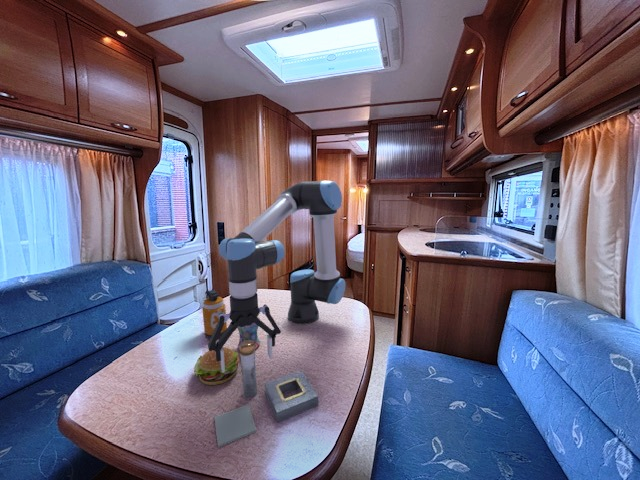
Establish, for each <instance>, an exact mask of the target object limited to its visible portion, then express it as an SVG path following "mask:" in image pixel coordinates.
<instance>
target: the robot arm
mask: <svg viewBox="0 0 640 480" xmlns="http://www.w3.org/2000/svg"><path fill="white" fill-rule="evenodd" d="M342 202H343V197H342V191H341V189H340V187H339V185H338V183H336V181H334V180H316V181H315V180H314V181H313V180H312V181H302V182H300V181H299V182H298V183H295V184H293V185H291V186H290V187H288V188H286V189H285V190H284V191H283V192H281V193H280V194H279V195H278V196H277V198H276V201H275V202H274V203H273V204H272V205H270V206H269V207H268V208H267V209H266V210H264V212H262V213H261V214H260V215H258V216H257V218H256V219H253V221H252V222H251V223H249V224H248V225H247V226H246V227H245V228H244V229H243V230H242V231H240V232H239V233H238V234H236V235H235V236H234V237H229V238H228V237H227V238H224V239H222V241H220V244H219V245H218V252H219V255H220V257H221V258H222V259H224V260H226V262H227V264H226V265H227V274H228V288H229V291H228V293H229V305H230V307H229V309H230V312H229V313H226V314H223V313H220V314H219V319H218V323H217V325H216V328H215V330H214V332H213V334H212V337H211V339H210V338H209V341H208V344H207V348H208V351H212V350H214V351H216V360H217V362H218V361H221V370H222V373H224V372H225V364H224V351H223V347H225V346H224V345H225V344H226V343H227V341H228V340H229V339H230V338H231V336H232V335H233V333H234V331H236V330H238V329H237V328H238V326H239V327H244V326H249V325H252V324H253V323H255V324H256V325H258V326H259V327H258V328H261V330H263V331H264V332H265V333H266V345H267V347H266V349H267V356H268V358H269V360H271V359H273V347H275V346H276V337H277V335H280V334H281V333H282V331H281V329H280V327H279V326H278V325H277V322H276V321H275V320H274V317H273V316H272V314H271V310H270V307H269V306H268V305H267V303H266V304H263V305H262V306H260V307H259V302H258V301H259V300H258V299H259V298H258V280H257V276H258V275H257V272H258V271H257V270H259V269H262V268H265V267H269V266H272V265H273V266H274V265H276V264H278V263H280V262H281V261H282V260H284V257H285V253H286V251H285V247H284V245H283V244H282V242H281V241H279V240H277V239H273V240H271V239H269V240H266V241H264V240H265V239H266V238H267V237H268V236H269V235H270V234H271V233H272V232H273V231H274V230H275V229H276V228H278V227H279V226H280V225H281V224H282V223H283V221H284V220H286V219H287V218H288V217H289V216H290V215H294V214H295V213H296V212H298V211H301V210H309V211H308V212H309V213H308V215H309V216H310V217H311V218H312V219H313V232H314V244H315V245H314V246H315V258H316V271H315V270H313V269H308V268H307V269H301V270H297V271H294V272H292V273H291V274H290V279H289V280H290V281H289V283H290V286H289V287H290V305H289V308H288V312H287V319H288V321H289V322H291V323H293V324H297V325H306V324H312V323H314V322H316V321H317V320H318V319H319V318H320V313H319V309H318V306H317V303H316V301H317V302H322V303H326V304H331V305H337V304H339V303H340V302H341V300H342V299H343V298H344V294H345V291H346V281H345V279H344V278H343V277H342V278H341V273H340V271H339V270H338V269H337V259H336V239H335V238H336V237H335V219H334V217H335V216H336V215H338V214H337V213H338V210H339V209H340V208H341V207H342ZM260 313H262V315H265V316H266V318H267V320H268V321H269V323H270V325H271V326H272V327H273V329H271V328H270V327H269V326H268V325H267V324H265V322H263V321H262V320H261V319H259V318H260V317H259V314H260ZM228 319H229V320H231V321H230V323H229V325H227V329H226V331H225V332H224V333H223V335H222V336H221V337H219V335H220V333H221V331H222V328H223V326H224V323H225V322H227V321H228ZM218 337H219V338H218Z"/></svg>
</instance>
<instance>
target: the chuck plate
mask: <svg viewBox="0 0 640 480" xmlns="http://www.w3.org/2000/svg"><path fill="white" fill-rule="evenodd" d="M294 390H295V391H297V394H294V395H292V396H288V397H287V398H285V397H284V394H288V393H289V392H292V391H294ZM264 393H265V395H266V397H267V401H268V402H269V406H270V408H271V410H272V413H273V415H274V418H275V421H276V423H280V422H283V421H285V420H288V419H291V418H293V417H294V416H297V415H299V414H301V413H304V412H306V411H309V410H311V409H313V408H315V407H318V406H319V395H318V393H317V392H316V390H315V389H314V387H313V385H312V384H311V382H310V381H309V380H308V378H307V377H306V375H305V374H304V372H303V371H302V370H299V371H297V372H293V373H291V374H288V375H285V376H282V377H279V378H276V379H273V380H271V381H267V382H265V383H264Z"/></svg>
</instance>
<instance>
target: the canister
mask: <svg viewBox="0 0 640 480" xmlns="http://www.w3.org/2000/svg"><path fill="white" fill-rule="evenodd" d="M204 294H205V297H203V298H202V302H203V303H202V304H203V307H202V308H201V309H202V318H203V329H204V337H205V338H206V339H209V340H210V339H211V337H212V334H213V332H214V330H215V328H216V325H217V323H218V319H219V314H220V313H223V314H227V312H226V304H225V303H224V299H223V298H222V296H220V294H219V293H218V291H216V290H215V289H214V288H211V290H209V289H207V290H206V291H205V292H204ZM227 328H228V324H227V321H226V322H225V323H224V326H223V328H222V331H221V333H220V335H219V337H218V339H220V337H221V336H222V335H223V333H224V332H225V331H226V329H227Z"/></svg>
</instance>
